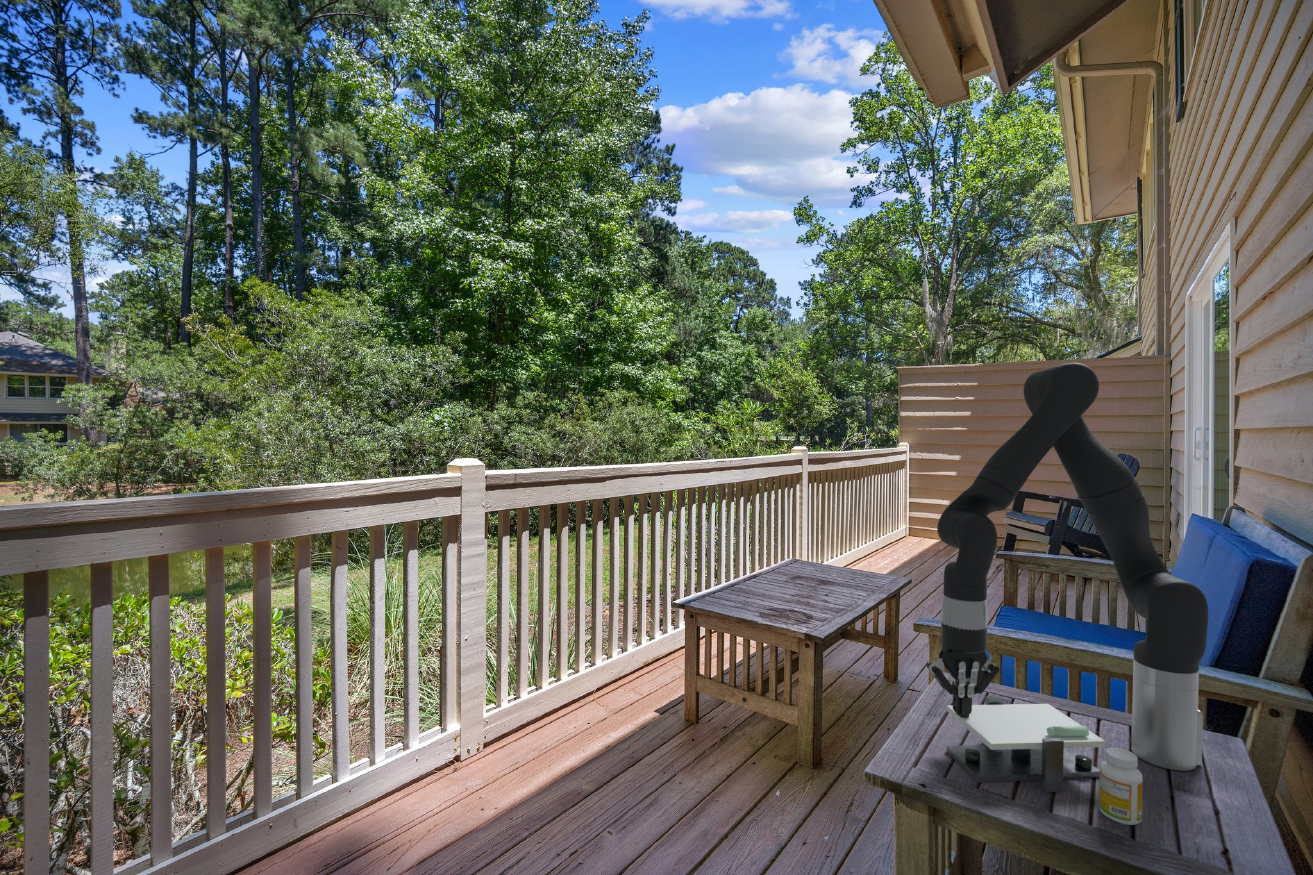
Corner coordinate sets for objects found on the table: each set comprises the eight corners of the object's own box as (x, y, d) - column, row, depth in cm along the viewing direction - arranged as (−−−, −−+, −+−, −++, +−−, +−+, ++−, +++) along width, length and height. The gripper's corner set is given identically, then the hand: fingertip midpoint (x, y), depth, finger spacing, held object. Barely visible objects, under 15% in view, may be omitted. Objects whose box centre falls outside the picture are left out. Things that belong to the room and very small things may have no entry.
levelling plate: (1047, 708, 121) (1048, 694, 121) (1105, 746, 107) (1105, 731, 107) (946, 710, 119) (947, 696, 119) (991, 749, 105) (991, 733, 105)
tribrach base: (1046, 737, 122) (1047, 693, 122) (1117, 788, 105) (1118, 738, 105) (936, 741, 121) (937, 697, 121) (990, 794, 104) (991, 743, 104)
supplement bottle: (1123, 803, 101) (1125, 744, 101) (1151, 825, 96) (1152, 762, 96) (1090, 804, 101) (1091, 744, 101) (1116, 826, 96) (1117, 763, 96)
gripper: (986, 614, 119) (984, 705, 120) (918, 615, 118) (916, 706, 119) (1012, 627, 111) (1009, 724, 112) (939, 628, 111) (937, 726, 111)
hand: (961, 715), depth 115 cm, fingers closed
